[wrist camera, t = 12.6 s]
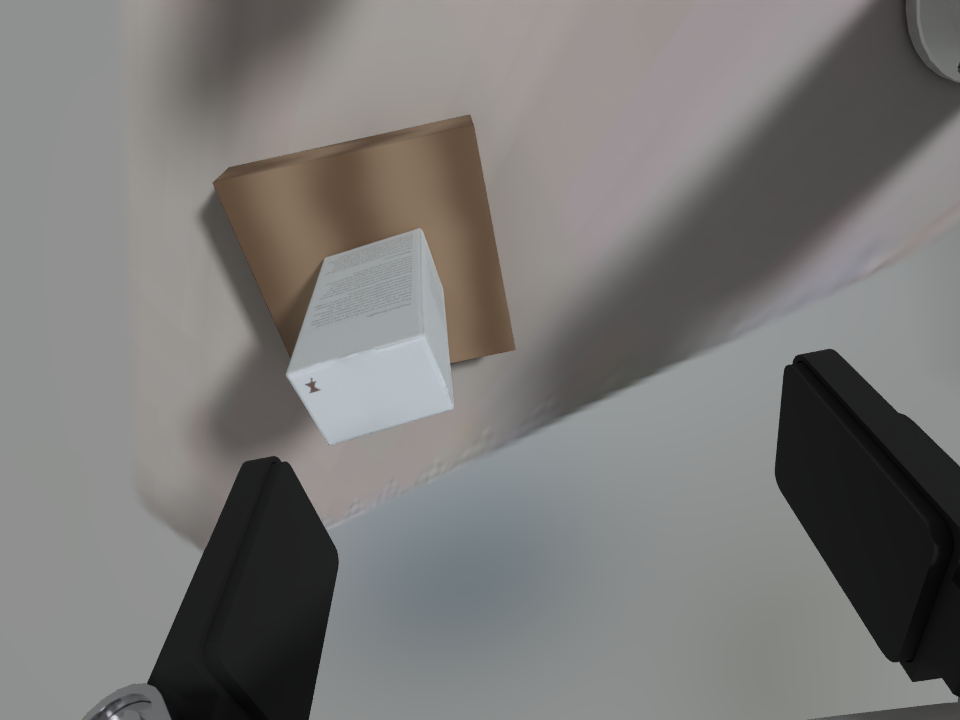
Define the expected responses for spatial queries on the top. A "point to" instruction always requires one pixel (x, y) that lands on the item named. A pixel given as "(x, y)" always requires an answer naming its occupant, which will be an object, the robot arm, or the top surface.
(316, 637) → the robot arm
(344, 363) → the skincare box
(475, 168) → the walnut base
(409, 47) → the top surface
